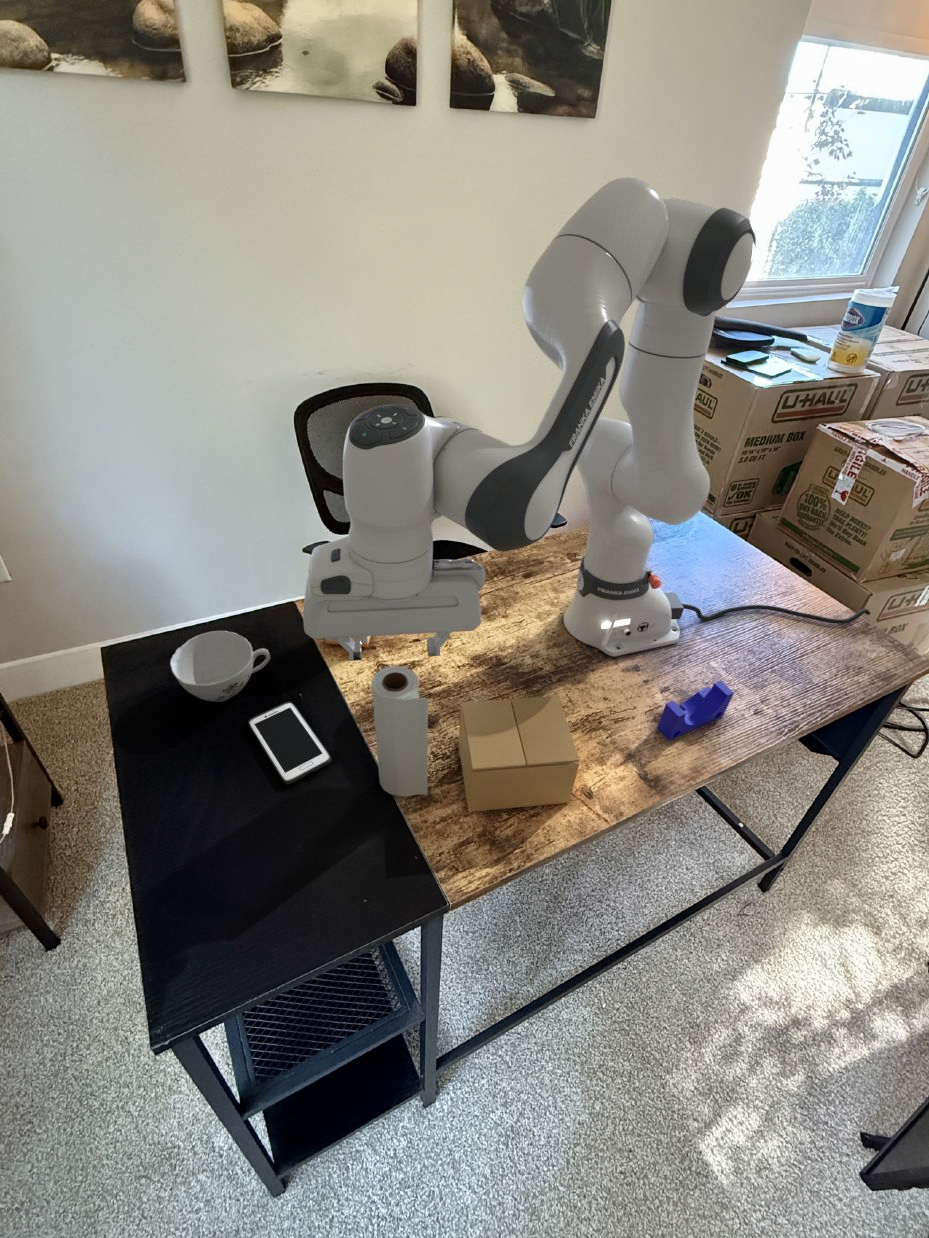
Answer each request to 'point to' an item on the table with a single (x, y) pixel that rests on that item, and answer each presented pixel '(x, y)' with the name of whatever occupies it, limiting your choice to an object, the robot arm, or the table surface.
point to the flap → (544, 731)
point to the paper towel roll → (400, 731)
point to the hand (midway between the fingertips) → (394, 655)
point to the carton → (505, 762)
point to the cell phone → (289, 742)
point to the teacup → (216, 665)
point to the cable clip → (695, 711)
